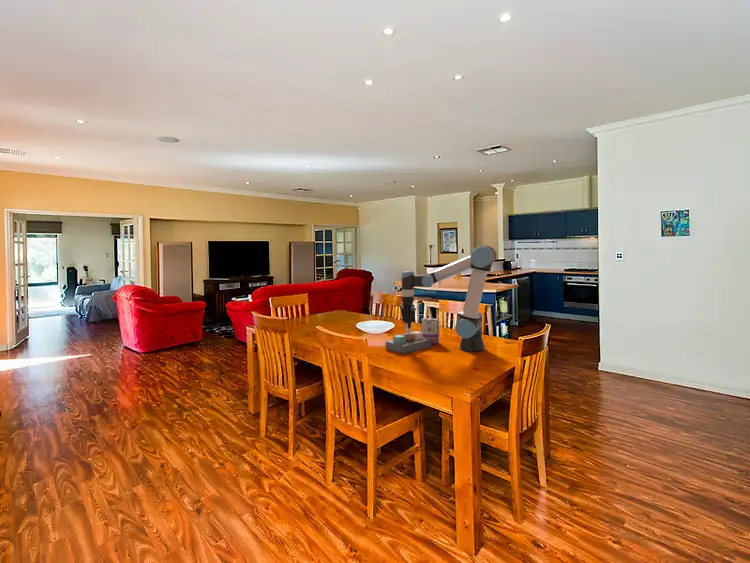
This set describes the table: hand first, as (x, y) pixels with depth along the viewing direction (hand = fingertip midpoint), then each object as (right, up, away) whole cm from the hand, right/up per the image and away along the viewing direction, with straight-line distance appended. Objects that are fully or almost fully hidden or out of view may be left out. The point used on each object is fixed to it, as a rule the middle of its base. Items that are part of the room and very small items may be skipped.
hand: (408, 332), depth 255 cm
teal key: (-6, -6, -4) cm, 9 cm away
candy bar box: (+16, -9, +12) cm, 22 cm away
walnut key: (0, -5, 0) cm, 5 cm away
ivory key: (+6, -5, +5) cm, 9 cm away
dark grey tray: (0, -10, +1) cm, 10 cm away
